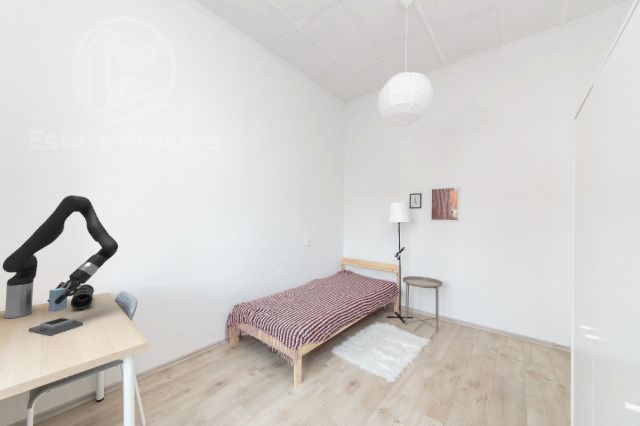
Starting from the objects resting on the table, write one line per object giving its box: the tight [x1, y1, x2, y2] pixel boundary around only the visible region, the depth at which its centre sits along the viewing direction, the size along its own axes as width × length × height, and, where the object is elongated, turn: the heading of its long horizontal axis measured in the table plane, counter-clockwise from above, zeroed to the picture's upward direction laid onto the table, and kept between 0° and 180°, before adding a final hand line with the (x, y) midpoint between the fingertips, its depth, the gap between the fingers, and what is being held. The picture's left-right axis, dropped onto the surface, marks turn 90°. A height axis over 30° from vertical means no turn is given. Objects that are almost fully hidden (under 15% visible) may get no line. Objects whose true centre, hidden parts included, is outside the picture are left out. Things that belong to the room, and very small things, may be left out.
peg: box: [48, 288, 68, 313], centre depth 117 cm, size 4×4×10 cm
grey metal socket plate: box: [28, 316, 84, 337], centre depth 117 cm, size 16×12×3 cm
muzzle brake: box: [70, 283, 95, 311], centre depth 149 cm, size 10×28×10 cm, turn 43°
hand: (52, 302), depth 115 cm, fingers closed on peg, 4 cm apart
